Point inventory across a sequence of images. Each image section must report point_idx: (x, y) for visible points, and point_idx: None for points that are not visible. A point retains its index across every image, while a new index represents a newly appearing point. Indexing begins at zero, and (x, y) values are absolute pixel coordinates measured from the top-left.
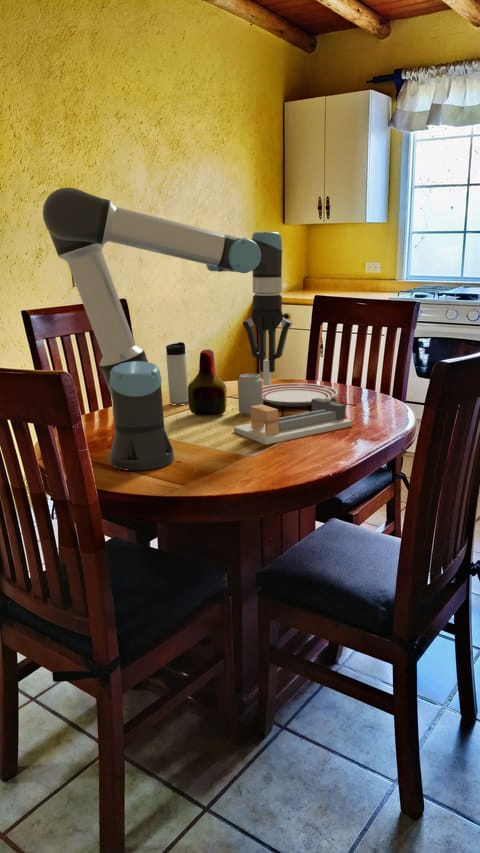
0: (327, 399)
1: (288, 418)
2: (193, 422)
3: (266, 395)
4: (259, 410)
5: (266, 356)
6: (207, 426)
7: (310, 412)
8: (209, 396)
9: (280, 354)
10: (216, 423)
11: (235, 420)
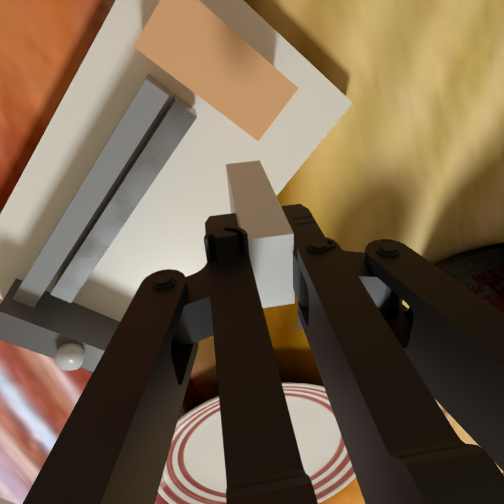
0: (63, 351)
1: (140, 153)
2: (499, 179)
3: (340, 436)
4: (232, 30)
5: (298, 328)
6: (448, 146)
7: (93, 252)
8: (498, 284)
9: (136, 301)
10: (425, 187)
11: (372, 235)
